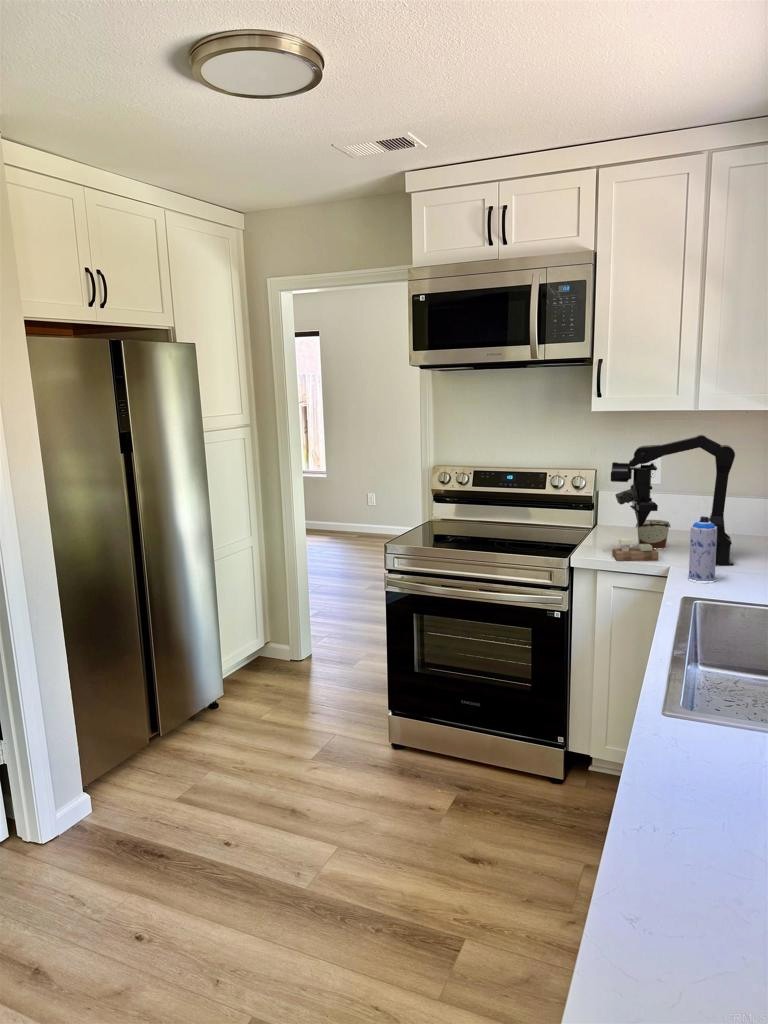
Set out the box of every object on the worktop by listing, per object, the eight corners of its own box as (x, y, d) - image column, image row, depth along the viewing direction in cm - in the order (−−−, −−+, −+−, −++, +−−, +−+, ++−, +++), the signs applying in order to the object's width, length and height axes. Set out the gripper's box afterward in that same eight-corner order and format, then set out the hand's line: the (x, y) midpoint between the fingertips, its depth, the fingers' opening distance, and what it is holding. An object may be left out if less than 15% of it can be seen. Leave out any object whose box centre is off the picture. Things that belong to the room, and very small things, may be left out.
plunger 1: (631, 553, 245) (631, 540, 244) (620, 553, 245) (621, 540, 244) (628, 550, 248) (629, 537, 247) (618, 550, 248) (618, 537, 248)
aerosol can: (720, 579, 217) (723, 516, 214) (707, 585, 213) (710, 520, 209) (695, 575, 223) (698, 513, 220) (682, 580, 219) (685, 517, 215)
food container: (664, 545, 265) (665, 519, 263) (669, 548, 259) (670, 522, 257) (631, 545, 266) (632, 519, 264) (635, 549, 260) (636, 522, 258)
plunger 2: (651, 559, 244) (652, 546, 244) (641, 559, 245) (641, 546, 244) (648, 556, 248) (649, 543, 247) (638, 556, 248) (638, 544, 247)
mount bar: (658, 560, 243) (658, 552, 242) (616, 561, 244) (617, 552, 243) (652, 555, 249) (652, 547, 249) (612, 556, 251) (612, 548, 250)
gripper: (611, 479, 252) (610, 521, 254) (624, 487, 233) (622, 532, 236) (643, 478, 251) (641, 521, 253) (659, 486, 232) (656, 532, 235)
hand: (640, 526), depth 245 cm, fingers closed
